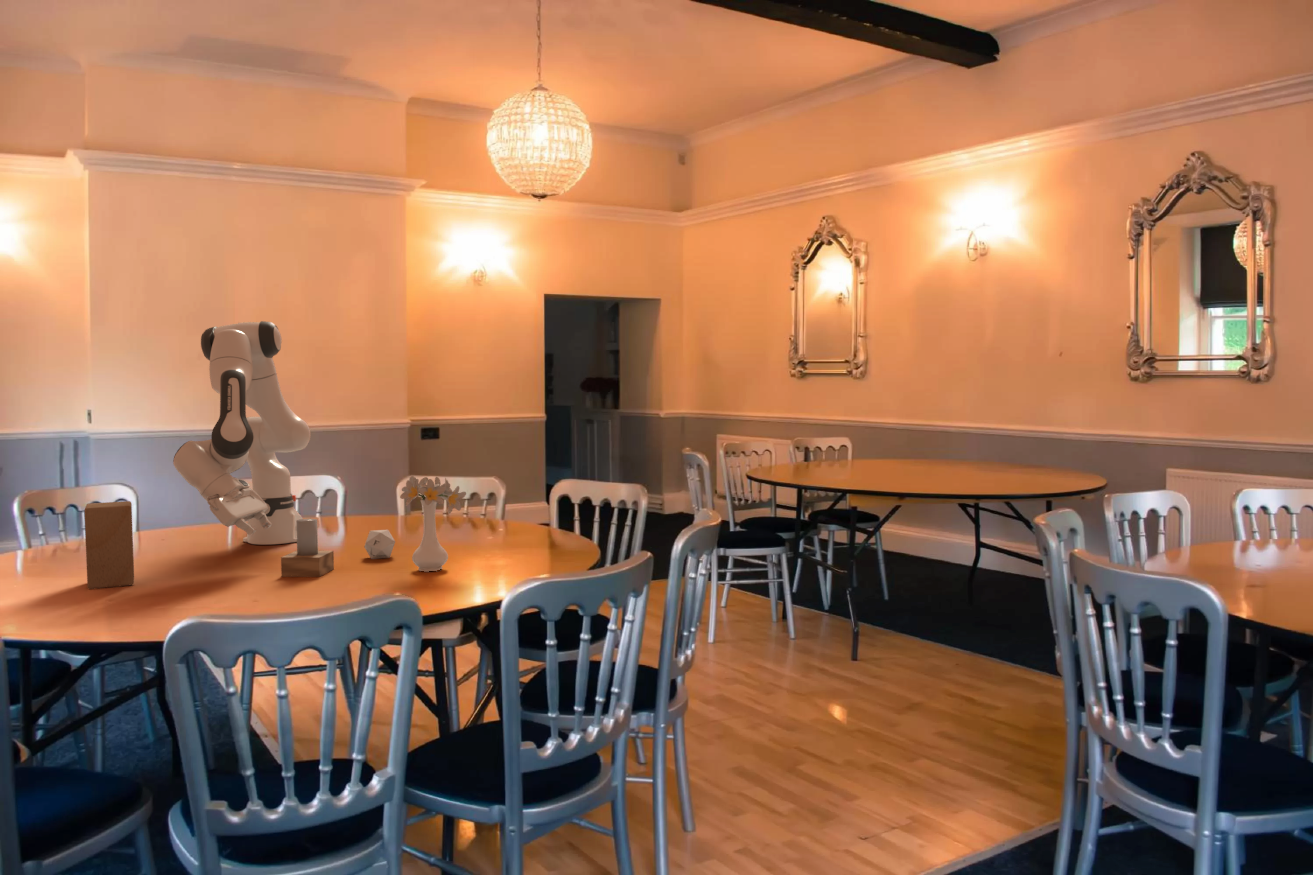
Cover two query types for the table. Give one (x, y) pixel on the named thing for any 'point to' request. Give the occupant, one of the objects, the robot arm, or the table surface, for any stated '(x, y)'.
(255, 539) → the robot arm
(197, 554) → the table surface
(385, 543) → the die
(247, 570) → the table surface
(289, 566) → the oak block
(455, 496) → the flower vase
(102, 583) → the wooden block
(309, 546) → the grey square pillar
